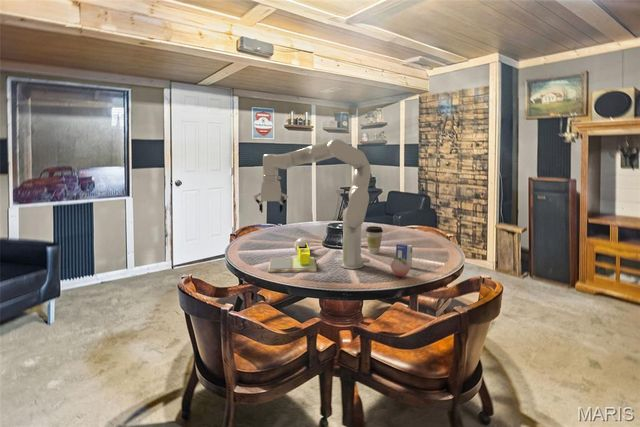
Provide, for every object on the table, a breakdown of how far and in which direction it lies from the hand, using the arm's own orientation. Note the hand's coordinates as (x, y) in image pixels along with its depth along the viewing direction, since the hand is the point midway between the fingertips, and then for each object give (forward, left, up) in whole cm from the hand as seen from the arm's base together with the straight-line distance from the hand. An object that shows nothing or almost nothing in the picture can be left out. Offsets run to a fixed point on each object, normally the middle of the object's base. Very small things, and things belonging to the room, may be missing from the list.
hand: (271, 212), depth 201 cm
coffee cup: (-59, -23, -29) cm, 69 cm away
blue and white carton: (-69, +5, -29) cm, 75 cm away
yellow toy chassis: (-17, -2, -27) cm, 32 cm away
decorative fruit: (-63, +21, -29) cm, 72 cm away
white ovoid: (-17, -27, -29) cm, 43 cm away
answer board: (-11, 0, -29) cm, 30 cm away
